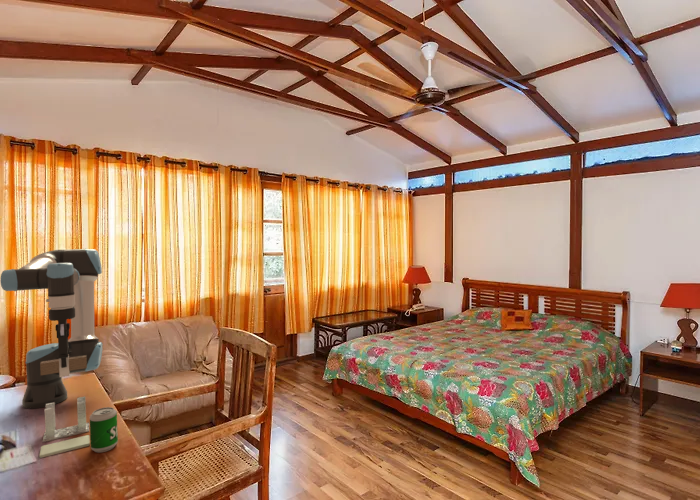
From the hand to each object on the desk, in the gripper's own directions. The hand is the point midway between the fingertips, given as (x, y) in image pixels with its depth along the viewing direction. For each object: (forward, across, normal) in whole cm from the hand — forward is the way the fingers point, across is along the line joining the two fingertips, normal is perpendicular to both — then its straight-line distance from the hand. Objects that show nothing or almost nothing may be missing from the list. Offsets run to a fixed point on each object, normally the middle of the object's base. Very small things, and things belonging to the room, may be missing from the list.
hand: (64, 374), depth 141 cm
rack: (+20, 0, 0) cm, 20 cm away
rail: (-1, 0, 0) cm, 1 cm away
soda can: (+21, +20, +10) cm, 31 cm away
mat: (+20, +12, 0) cm, 24 cm away
